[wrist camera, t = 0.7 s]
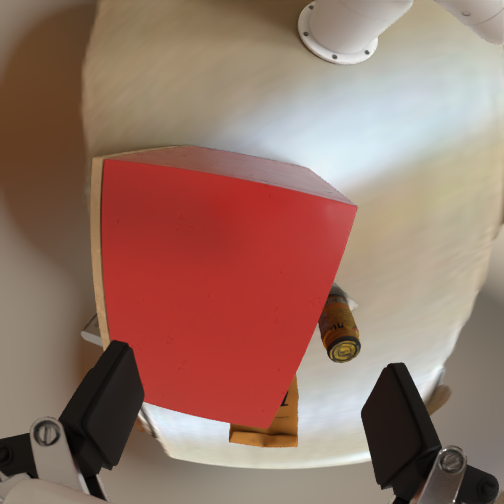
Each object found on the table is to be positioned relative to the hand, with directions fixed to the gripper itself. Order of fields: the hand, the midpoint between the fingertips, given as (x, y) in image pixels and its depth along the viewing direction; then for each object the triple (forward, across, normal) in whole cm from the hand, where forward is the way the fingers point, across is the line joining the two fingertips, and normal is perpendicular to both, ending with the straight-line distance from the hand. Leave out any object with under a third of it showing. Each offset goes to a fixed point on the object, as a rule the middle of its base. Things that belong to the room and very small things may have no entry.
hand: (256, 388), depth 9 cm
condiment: (+36, -13, +18) cm, 42 cm away
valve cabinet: (+36, +4, +7) cm, 37 cm away
